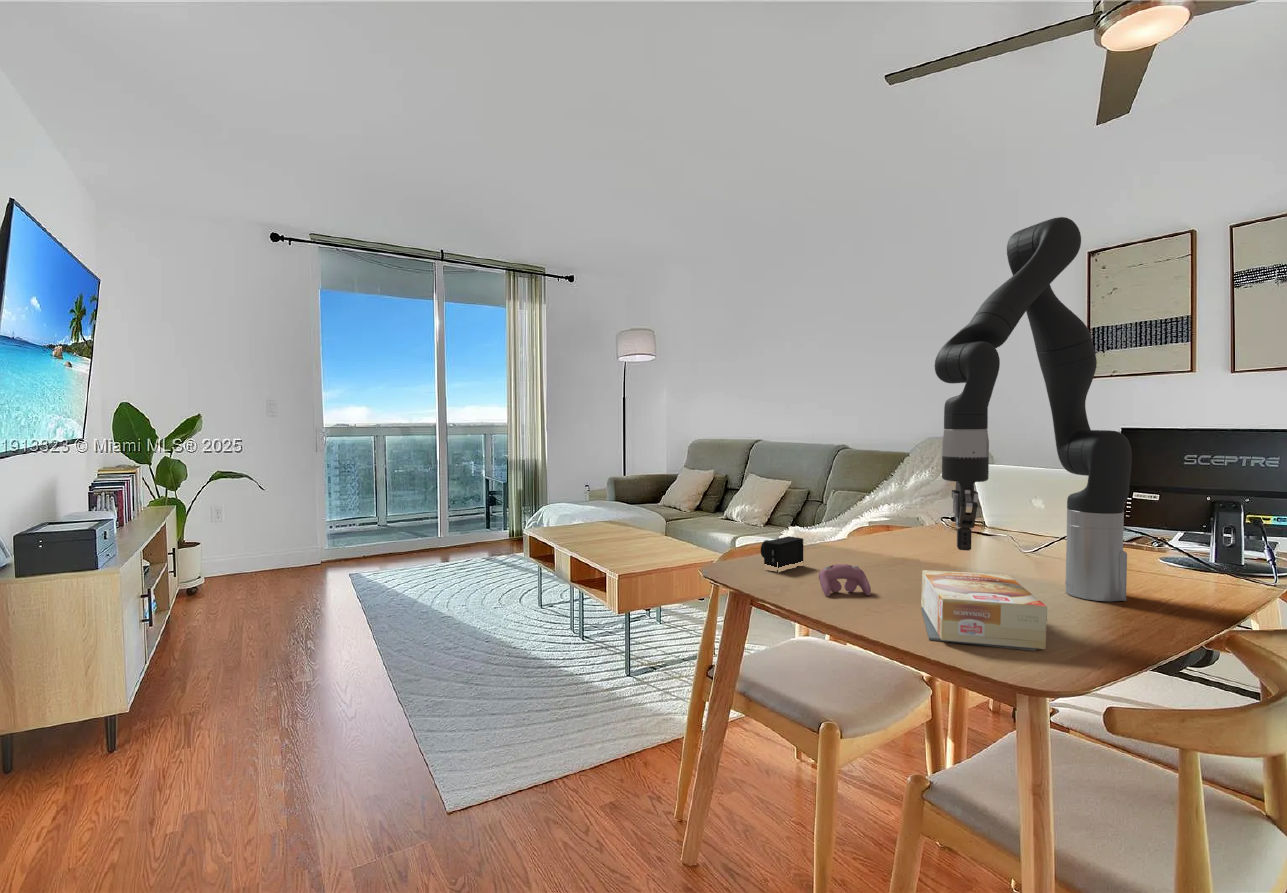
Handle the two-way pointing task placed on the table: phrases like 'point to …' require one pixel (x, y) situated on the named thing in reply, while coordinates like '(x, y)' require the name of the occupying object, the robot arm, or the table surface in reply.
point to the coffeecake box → (983, 609)
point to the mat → (934, 636)
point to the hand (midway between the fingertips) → (963, 549)
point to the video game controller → (843, 571)
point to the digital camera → (782, 551)
